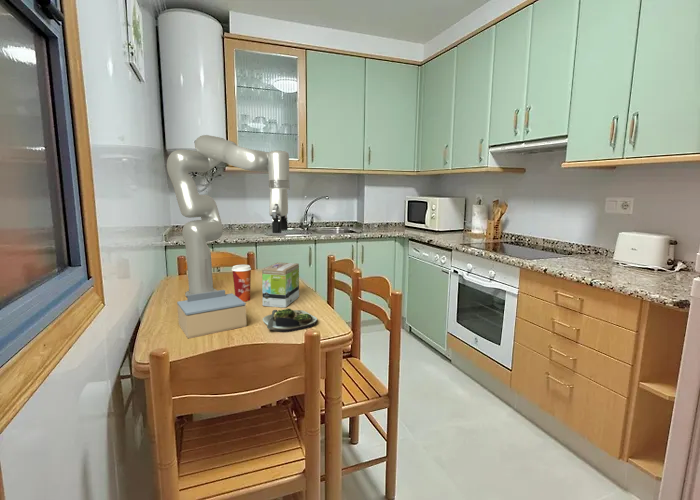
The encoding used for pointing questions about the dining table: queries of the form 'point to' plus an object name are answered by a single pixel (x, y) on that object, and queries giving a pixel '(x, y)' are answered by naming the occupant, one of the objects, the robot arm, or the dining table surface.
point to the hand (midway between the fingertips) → (280, 231)
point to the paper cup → (242, 281)
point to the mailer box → (212, 321)
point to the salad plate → (289, 320)
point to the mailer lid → (209, 302)
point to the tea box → (280, 284)
